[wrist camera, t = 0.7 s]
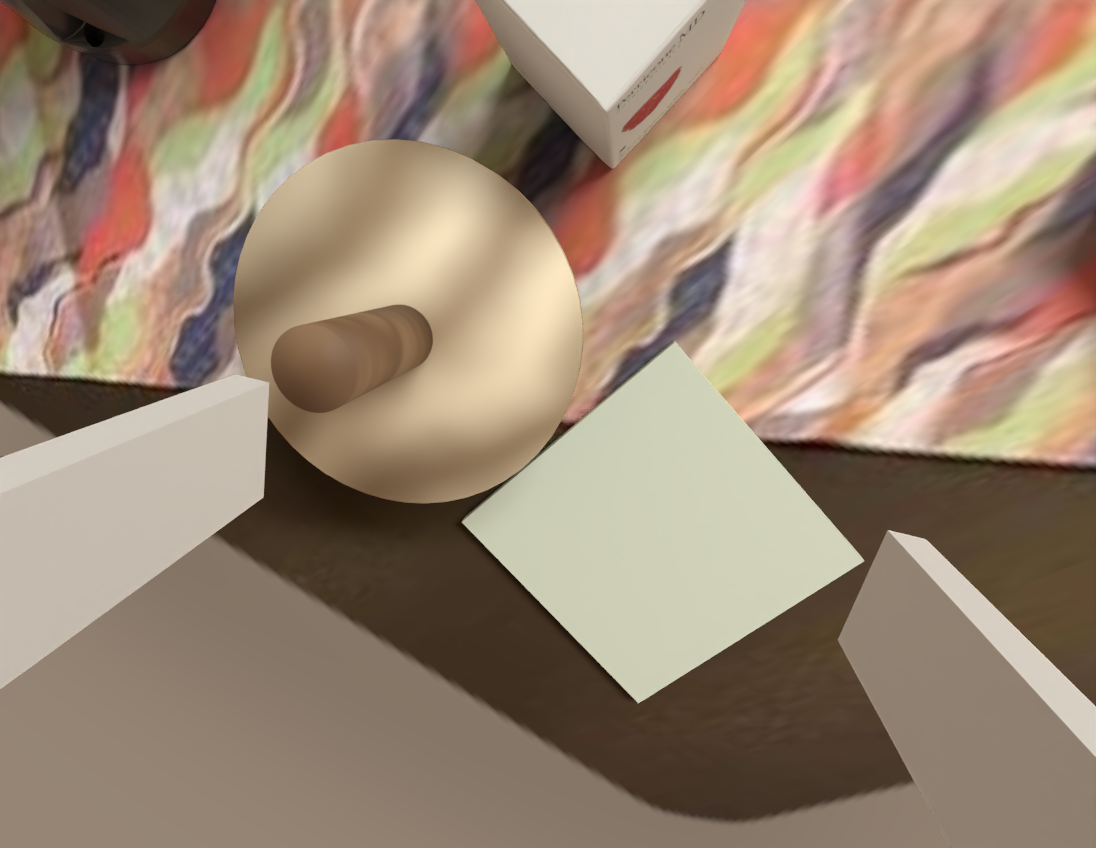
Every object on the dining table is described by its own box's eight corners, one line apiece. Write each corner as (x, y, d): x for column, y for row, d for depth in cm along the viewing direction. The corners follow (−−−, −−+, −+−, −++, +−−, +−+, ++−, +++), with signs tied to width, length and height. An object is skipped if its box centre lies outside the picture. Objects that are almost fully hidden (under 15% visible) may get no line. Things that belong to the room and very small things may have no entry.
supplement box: (612, 175, 36) (601, 123, 21) (508, 63, 35) (424, -70, 20) (728, 51, 33) (804, -104, 19) (619, -74, 32) (611, -337, 18)
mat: (464, 517, 44) (461, 521, 43) (674, 340, 38) (674, 342, 37) (638, 695, 46) (638, 703, 45) (859, 555, 40) (864, 560, 39)
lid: (184, 317, 33) (0, 343, 23) (405, 54, 28) (285, -54, 18) (413, 553, 35) (332, 665, 26) (658, 352, 30) (672, 399, 20)
